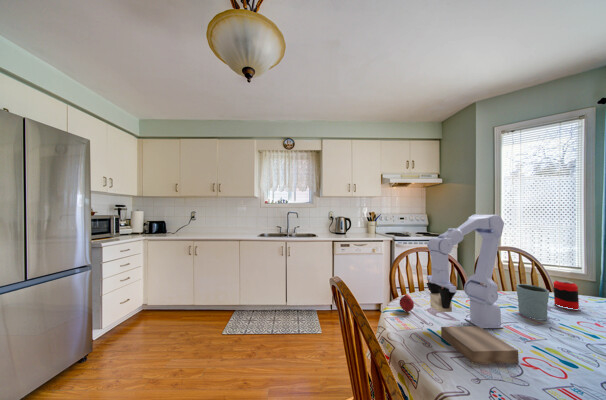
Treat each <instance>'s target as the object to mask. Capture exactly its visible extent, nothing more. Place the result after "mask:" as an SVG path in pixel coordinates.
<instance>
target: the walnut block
mask: <svg viewBox="0 0 606 400" xmlns="http://www.w3.org/2000/svg"><path fill="white" fill-rule="evenodd" d="M440 335H441V339H443V340H444V341H445V342H446V343H448V344H449V345H450V346H452V347H453V348H454V349H455V350H456V351H457V352H458V353H460V354H461V355H463V357H465V358H466V359H467V360H468V359H469V360H470V361H469V360H468V361H469V362H471V363H472V362H473V363H480V364H481V363H482V364H481V365H484V364H517V363H520V361H519V350H518V348H515V347H514V346H512V345H510V344H509V343H507V342H505V341H504V340H502V339H501V338H498V337H497V336H496V335H493V334H492V333H491V332H488V331H487V330H485V328H480V327H479V326H476V325H471V326H469V325H468V326H440ZM473 363H472V364H473Z"/></svg>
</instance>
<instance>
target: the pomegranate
mask: <svg viewBox="0 0 606 400" xmlns="http://www.w3.org/2000/svg"><path fill="white" fill-rule="evenodd" d="M399 306H400V308H401V309H402V310H403V311H404V312H405V313H409V312H411V311H412V310H413V309H414V307H415V303H414V300H413V299H412V297H410V296H409V294H408V293H405V294H404V295H403V296H402V297H400V299H399Z"/></svg>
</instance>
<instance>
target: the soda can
mask: <svg viewBox="0 0 606 400" xmlns="http://www.w3.org/2000/svg"><path fill="white" fill-rule="evenodd" d="M552 285H553V299H554V300H553V302H554V305H555V304H557V305H560V306H563V307H568V308H573V309H578V308H579V309H580V301H579V288H578V287H579V286H578V285H577V284H576V283H575V282H573V281H570V280H565V279H556V280H555V281H554V282H553V283H552Z"/></svg>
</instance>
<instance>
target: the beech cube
mask: <svg viewBox="0 0 606 400" xmlns="http://www.w3.org/2000/svg"><path fill="white" fill-rule="evenodd" d="M429 297H430V300H429V301H430V303H429V304H430V307H431V308H432V309H433V310H435V311H436V312H438V313H452V312H453V310H452V309H453V307H452V302H453V301H452V300H451V303H450V307H449V309H444V308H443V307H442V301H441V296H440V293H431V292H430V293H429Z"/></svg>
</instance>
